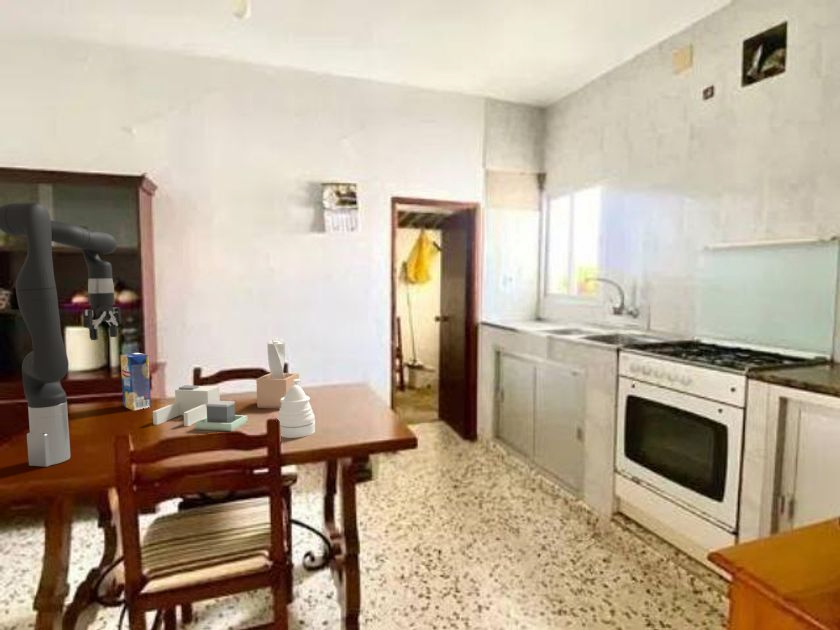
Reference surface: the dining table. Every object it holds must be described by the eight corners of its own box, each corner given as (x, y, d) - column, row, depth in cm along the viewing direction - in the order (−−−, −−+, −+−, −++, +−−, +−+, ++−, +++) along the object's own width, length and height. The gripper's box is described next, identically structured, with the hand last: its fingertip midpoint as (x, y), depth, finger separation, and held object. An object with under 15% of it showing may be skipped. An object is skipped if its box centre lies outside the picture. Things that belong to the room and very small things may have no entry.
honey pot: (286, 425, 184) (285, 376, 183) (320, 427, 182) (319, 377, 180) (270, 436, 171) (268, 384, 170) (306, 438, 169) (305, 385, 168)
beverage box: (140, 402, 219) (137, 352, 217) (151, 407, 212) (148, 355, 210) (123, 406, 214) (120, 354, 212) (133, 410, 207) (130, 357, 205)
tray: (231, 431, 178) (231, 424, 178) (195, 429, 180) (195, 422, 180) (247, 422, 189) (247, 415, 189) (213, 420, 191) (212, 414, 191)
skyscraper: (286, 405, 211) (284, 338, 208) (266, 405, 211) (264, 338, 208) (290, 400, 219) (289, 336, 217) (272, 400, 219) (270, 336, 217)
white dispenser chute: (187, 426, 184) (186, 397, 183) (153, 424, 187) (152, 395, 186) (220, 410, 205) (219, 384, 204) (188, 409, 207) (187, 383, 206)
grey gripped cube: (227, 426, 181) (226, 404, 180) (206, 425, 183) (206, 403, 182) (235, 422, 186) (234, 401, 185) (215, 421, 188) (214, 400, 187)
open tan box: (286, 408, 207) (286, 379, 206) (257, 407, 210) (256, 378, 209) (299, 400, 220) (298, 373, 219) (271, 399, 222) (270, 372, 221)
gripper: (94, 292, 167) (97, 341, 169) (126, 291, 181) (128, 336, 183) (74, 292, 169) (77, 340, 170) (107, 291, 183) (110, 335, 184)
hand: (104, 338), depth 176 cm, fingers open, 8 cm apart
